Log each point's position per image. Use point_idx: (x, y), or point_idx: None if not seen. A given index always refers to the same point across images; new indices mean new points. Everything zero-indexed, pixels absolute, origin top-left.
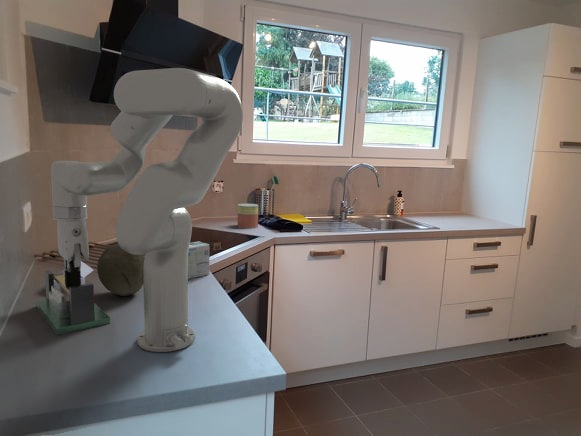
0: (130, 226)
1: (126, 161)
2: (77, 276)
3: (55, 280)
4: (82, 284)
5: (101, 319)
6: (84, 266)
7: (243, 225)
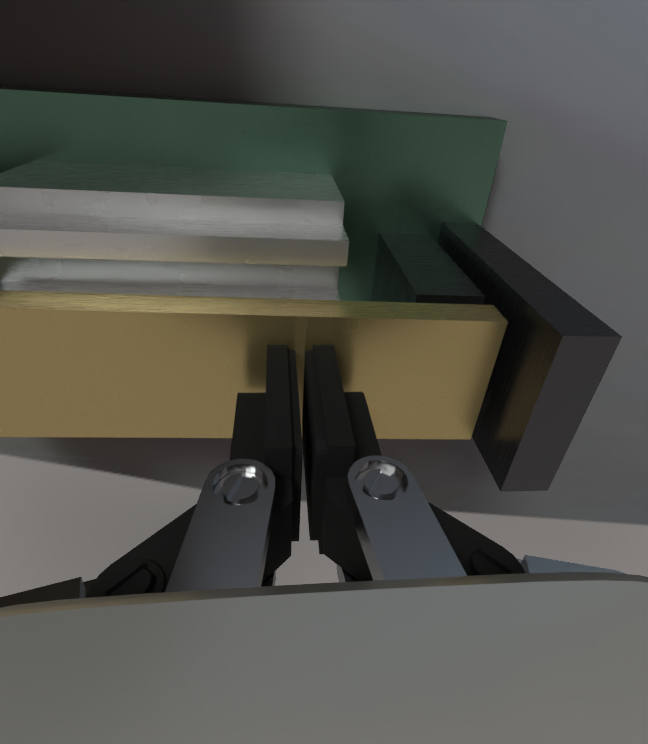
0: None
1: None
2: (375, 436)
3: None
4: (308, 321)
5: (491, 182)
6: None
7: None
